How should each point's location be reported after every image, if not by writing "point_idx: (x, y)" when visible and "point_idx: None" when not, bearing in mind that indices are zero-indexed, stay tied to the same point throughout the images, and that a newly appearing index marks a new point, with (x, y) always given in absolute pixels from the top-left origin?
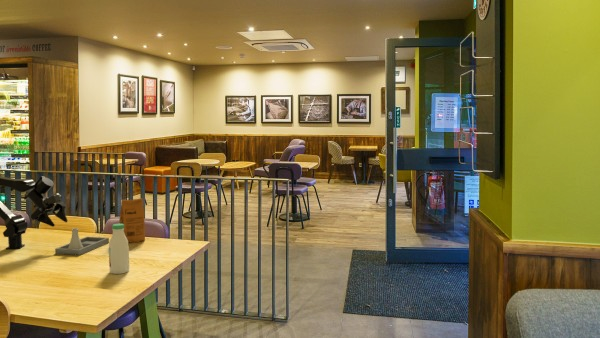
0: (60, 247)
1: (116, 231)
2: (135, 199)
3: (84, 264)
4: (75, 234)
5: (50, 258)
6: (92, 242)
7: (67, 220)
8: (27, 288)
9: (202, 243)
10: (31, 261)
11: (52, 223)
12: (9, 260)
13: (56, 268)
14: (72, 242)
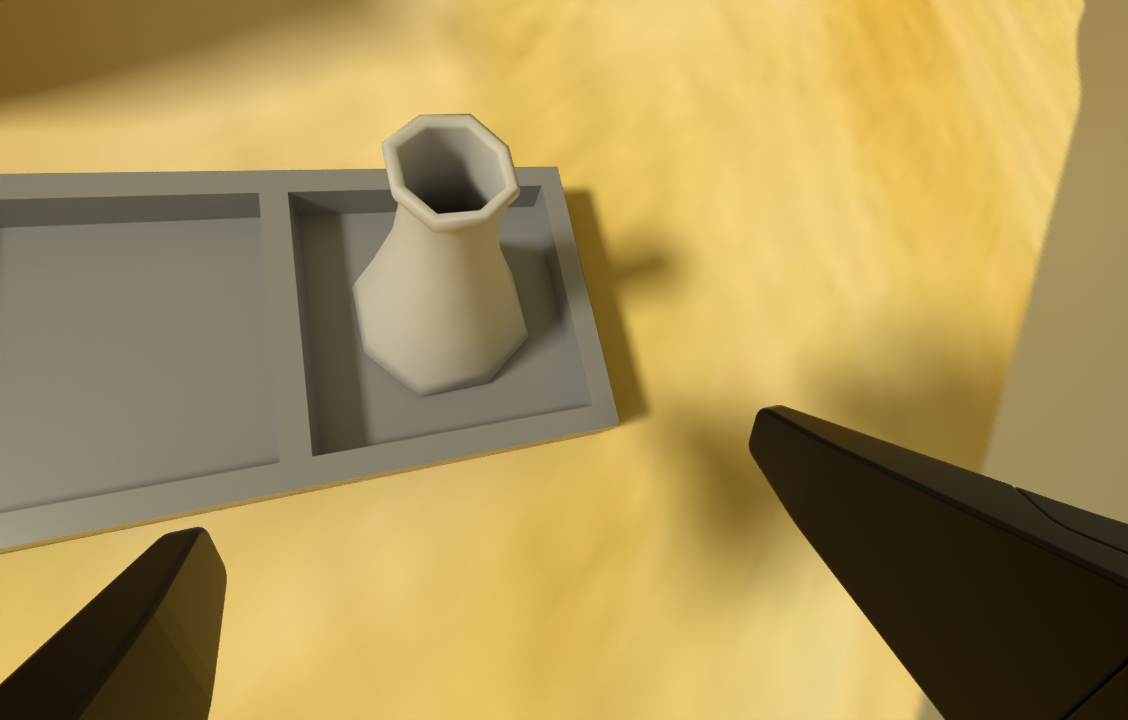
0: (560, 412)
1: None
2: None
3: (682, 48)
4: (477, 192)
5: (707, 357)
6: (54, 361)
7: (157, 542)
8: (1006, 93)
9: None
10: None
11: (838, 430)
12: None
13: (811, 152)
14: (506, 269)
